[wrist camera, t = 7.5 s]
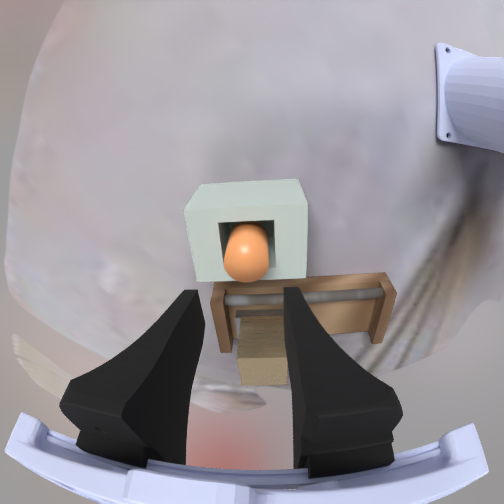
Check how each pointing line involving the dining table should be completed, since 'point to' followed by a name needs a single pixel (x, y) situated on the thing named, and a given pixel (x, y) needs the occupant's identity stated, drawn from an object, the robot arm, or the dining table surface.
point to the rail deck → (310, 303)
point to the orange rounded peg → (247, 252)
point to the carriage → (261, 347)
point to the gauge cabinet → (248, 209)
